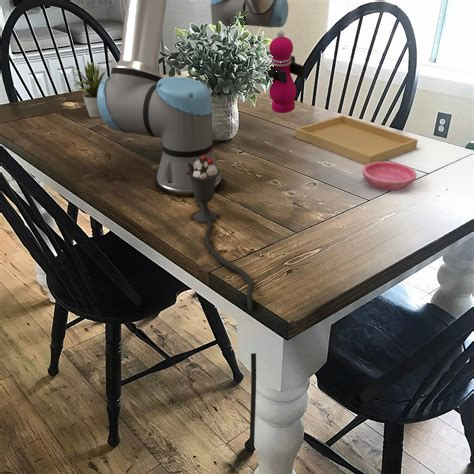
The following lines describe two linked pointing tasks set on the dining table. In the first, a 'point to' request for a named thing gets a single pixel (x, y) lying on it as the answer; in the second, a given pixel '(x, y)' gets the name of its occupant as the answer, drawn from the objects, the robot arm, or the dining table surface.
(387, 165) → the saucer
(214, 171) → the sundae
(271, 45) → the pepper mill
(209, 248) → the robot arm
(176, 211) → the dining table surface
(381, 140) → the tray
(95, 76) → the house plant
